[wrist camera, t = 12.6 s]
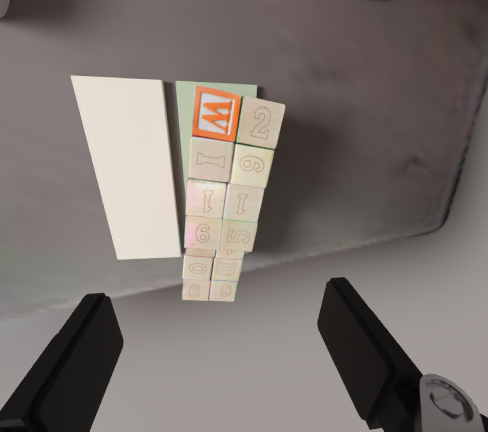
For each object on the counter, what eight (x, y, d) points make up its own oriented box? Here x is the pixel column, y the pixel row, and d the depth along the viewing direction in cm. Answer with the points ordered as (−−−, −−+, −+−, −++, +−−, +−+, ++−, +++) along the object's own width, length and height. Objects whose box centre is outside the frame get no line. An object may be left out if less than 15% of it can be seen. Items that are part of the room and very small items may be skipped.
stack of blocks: (229, 257, 34) (236, 325, 23) (188, 253, 33) (175, 323, 22) (256, 107, 26) (288, 103, 15) (203, 96, 25) (194, 82, 14)
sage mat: (255, 86, 26) (256, 85, 25) (248, 250, 35) (248, 253, 35) (177, 82, 25) (175, 80, 24) (191, 252, 34) (190, 256, 33)
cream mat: (163, 81, 25) (161, 80, 24) (181, 252, 34) (180, 256, 33) (76, 77, 23) (70, 75, 23) (120, 255, 33) (117, 259, 32)
